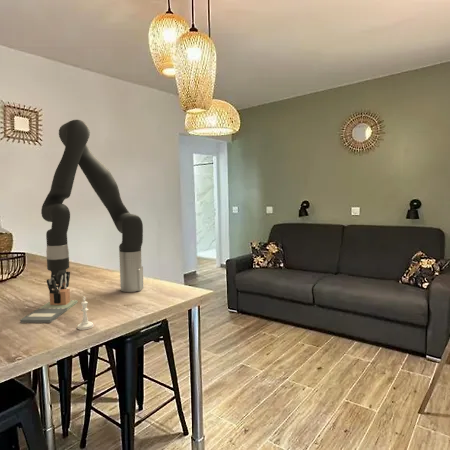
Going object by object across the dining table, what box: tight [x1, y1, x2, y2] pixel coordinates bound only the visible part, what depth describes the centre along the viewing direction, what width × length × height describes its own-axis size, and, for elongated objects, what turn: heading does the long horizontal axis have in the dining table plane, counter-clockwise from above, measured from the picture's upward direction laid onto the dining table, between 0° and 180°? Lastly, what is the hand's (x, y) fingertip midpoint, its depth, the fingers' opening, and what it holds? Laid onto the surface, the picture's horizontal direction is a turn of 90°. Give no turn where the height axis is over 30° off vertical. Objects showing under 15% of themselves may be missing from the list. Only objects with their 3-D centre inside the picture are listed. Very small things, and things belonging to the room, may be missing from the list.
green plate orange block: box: [39, 288, 79, 311], centre depth 132 cm, size 10×9×6 cm
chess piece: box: [76, 295, 95, 331], centre depth 112 cm, size 5×5×10 cm
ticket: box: [19, 307, 68, 324], centre depth 121 cm, size 10×12×1 cm
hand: (60, 301), depth 133 cm, fingers closed on green plate orange block, 3 cm apart
